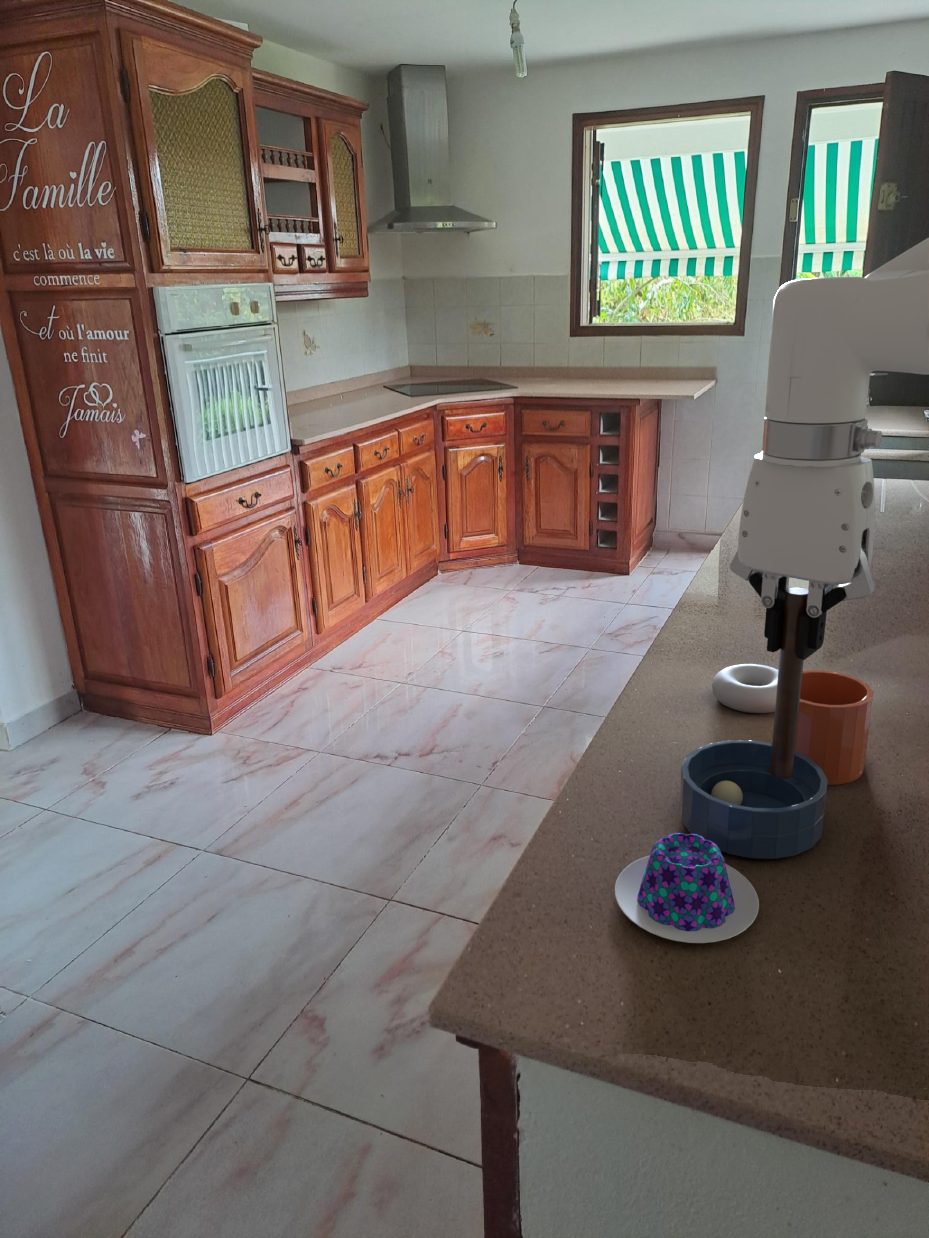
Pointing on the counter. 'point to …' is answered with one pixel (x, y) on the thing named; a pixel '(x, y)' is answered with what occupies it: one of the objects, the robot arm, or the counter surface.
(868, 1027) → the counter surface
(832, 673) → the crock
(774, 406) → the robot arm
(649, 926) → the pudding
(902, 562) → the counter surface
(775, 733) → the stick
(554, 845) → the counter surface
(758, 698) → the donut
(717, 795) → the dough ball
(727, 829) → the bowl
